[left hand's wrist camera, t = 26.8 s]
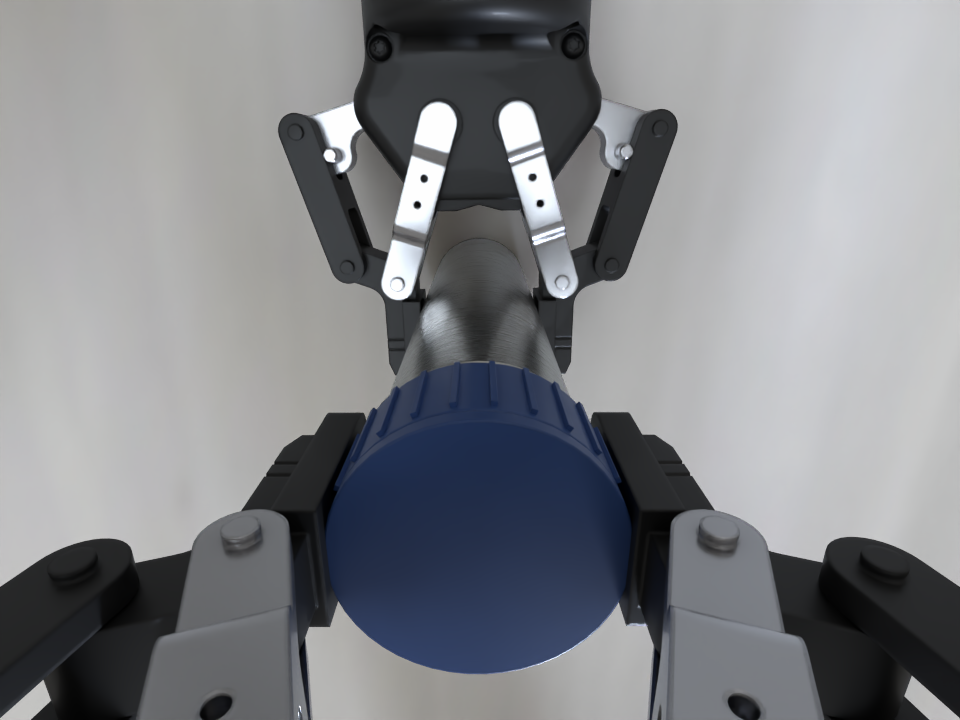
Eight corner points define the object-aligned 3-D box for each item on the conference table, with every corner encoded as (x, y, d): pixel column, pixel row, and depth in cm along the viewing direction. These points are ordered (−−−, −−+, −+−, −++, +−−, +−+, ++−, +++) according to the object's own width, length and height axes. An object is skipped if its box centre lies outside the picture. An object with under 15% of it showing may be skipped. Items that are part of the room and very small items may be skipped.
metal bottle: (509, 333, 29) (563, 646, 10) (427, 312, 29) (329, 598, 10) (534, 251, 28) (647, 444, 9) (447, 227, 27) (376, 379, 9)
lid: (529, 610, 12) (540, 714, 10) (314, 523, 11) (272, 614, 9) (655, 427, 11) (703, 500, 8) (416, 311, 10) (397, 357, 8)
